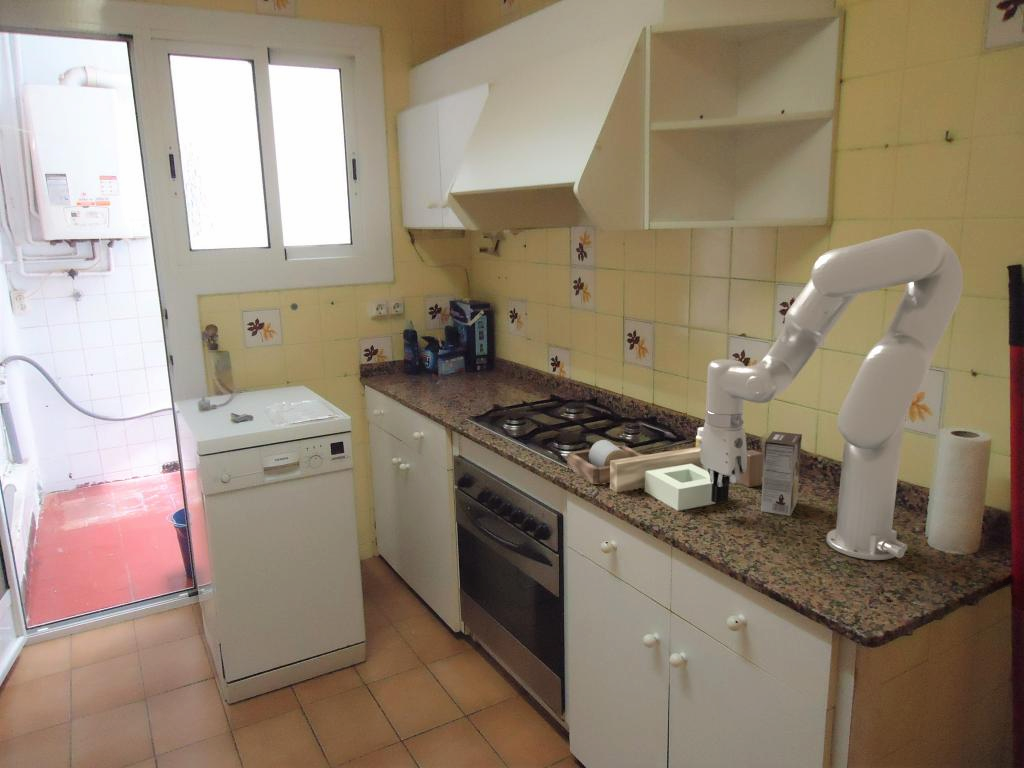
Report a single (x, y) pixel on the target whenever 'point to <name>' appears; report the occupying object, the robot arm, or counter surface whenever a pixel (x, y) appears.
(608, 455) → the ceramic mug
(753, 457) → the wooden block
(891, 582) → the counter surface
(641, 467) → the birch wall
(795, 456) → the coffee box
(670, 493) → the socket block
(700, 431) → the supplement bottle
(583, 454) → the brown wooden tray
